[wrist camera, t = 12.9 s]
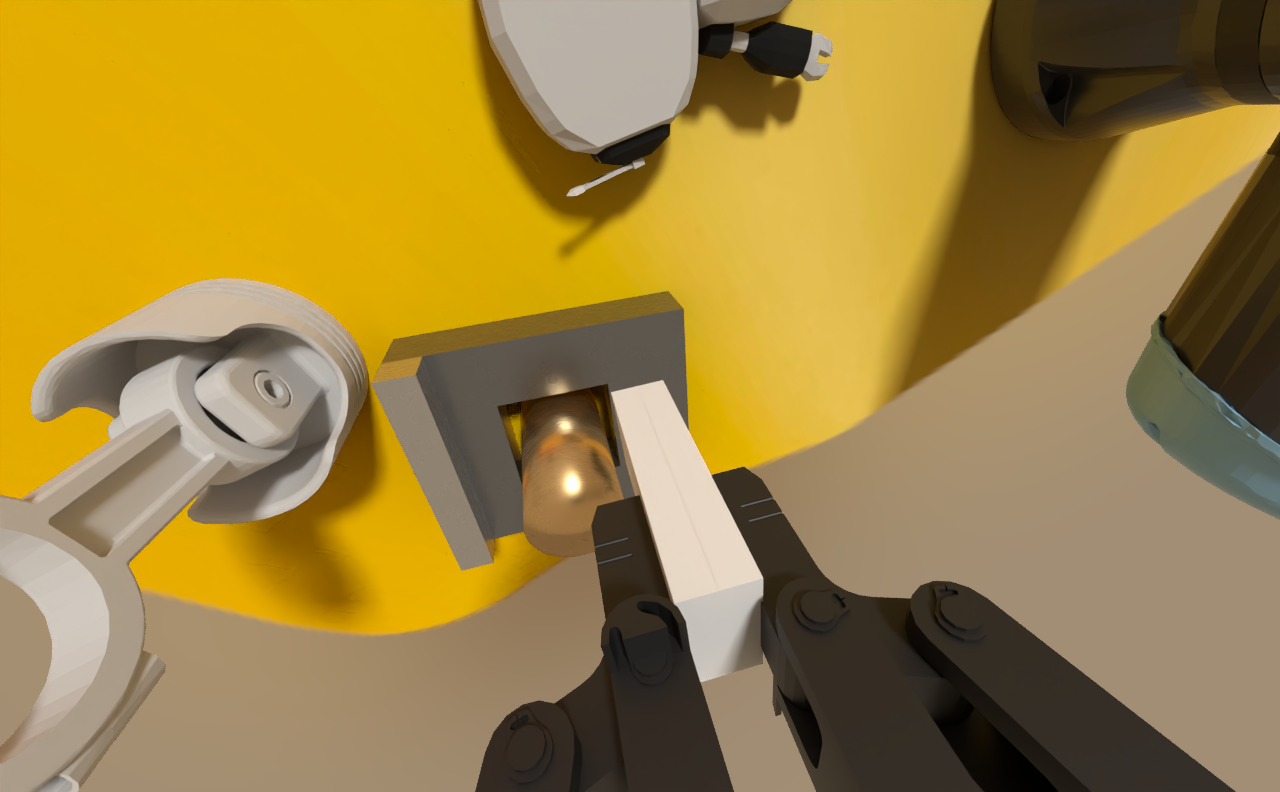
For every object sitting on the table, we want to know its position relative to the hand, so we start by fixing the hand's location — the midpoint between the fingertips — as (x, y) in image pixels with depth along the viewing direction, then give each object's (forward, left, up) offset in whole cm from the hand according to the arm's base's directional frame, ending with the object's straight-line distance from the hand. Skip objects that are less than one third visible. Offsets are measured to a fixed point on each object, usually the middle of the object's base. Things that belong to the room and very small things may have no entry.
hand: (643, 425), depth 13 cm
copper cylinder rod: (+3, +9, -15) cm, 18 cm away
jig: (+3, +9, -15) cm, 18 cm away
